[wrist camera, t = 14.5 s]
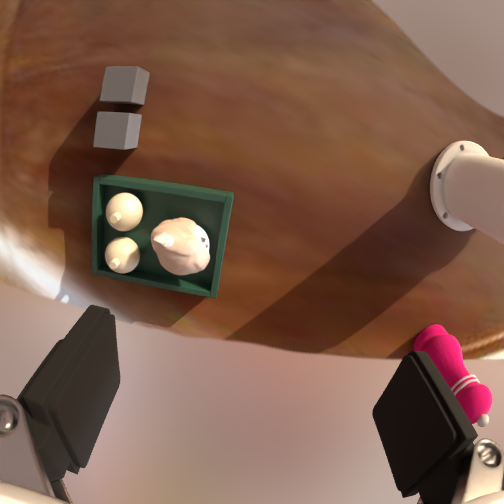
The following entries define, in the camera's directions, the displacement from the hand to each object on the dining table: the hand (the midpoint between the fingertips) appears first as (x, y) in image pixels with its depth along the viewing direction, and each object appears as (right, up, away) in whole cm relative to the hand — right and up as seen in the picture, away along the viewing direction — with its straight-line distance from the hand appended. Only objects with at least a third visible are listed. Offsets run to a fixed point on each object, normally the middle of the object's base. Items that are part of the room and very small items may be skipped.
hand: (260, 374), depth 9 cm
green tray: (-12, +6, +28) cm, 31 cm away
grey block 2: (-15, +18, +23) cm, 33 cm away
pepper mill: (+29, -11, +35) cm, 47 cm away
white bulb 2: (-16, +4, +28) cm, 33 cm away
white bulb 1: (-15, +9, +26) cm, 31 cm away
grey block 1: (-14, +23, +21) cm, 34 cm away
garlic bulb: (-8, +5, +28) cm, 29 cm away
